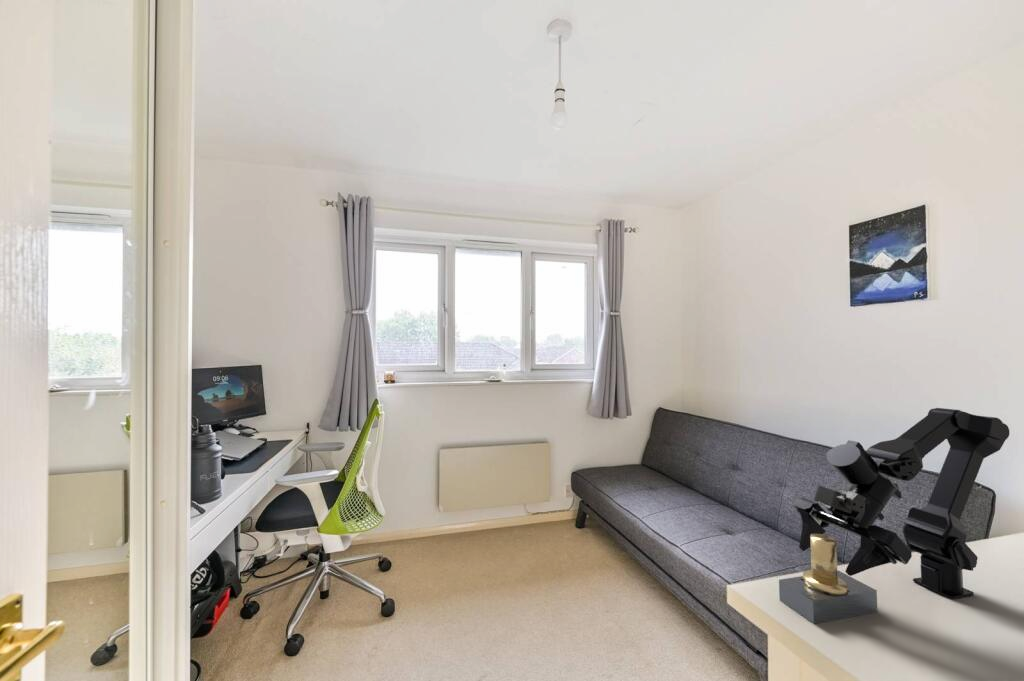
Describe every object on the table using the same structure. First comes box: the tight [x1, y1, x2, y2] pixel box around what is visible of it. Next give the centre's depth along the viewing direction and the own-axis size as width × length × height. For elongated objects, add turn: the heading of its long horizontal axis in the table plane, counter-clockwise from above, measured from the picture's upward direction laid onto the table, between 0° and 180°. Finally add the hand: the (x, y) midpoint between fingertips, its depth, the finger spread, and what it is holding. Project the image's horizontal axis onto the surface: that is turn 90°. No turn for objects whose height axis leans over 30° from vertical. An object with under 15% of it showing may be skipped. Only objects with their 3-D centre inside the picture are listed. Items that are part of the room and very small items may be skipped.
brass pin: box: [802, 534, 848, 596], centre depth 76 cm, size 7×7×13 cm
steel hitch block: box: [778, 570, 878, 624], centre depth 75 cm, size 15×7×4 cm, turn 102°
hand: (823, 561), depth 76 cm, fingers open, 9 cm apart
